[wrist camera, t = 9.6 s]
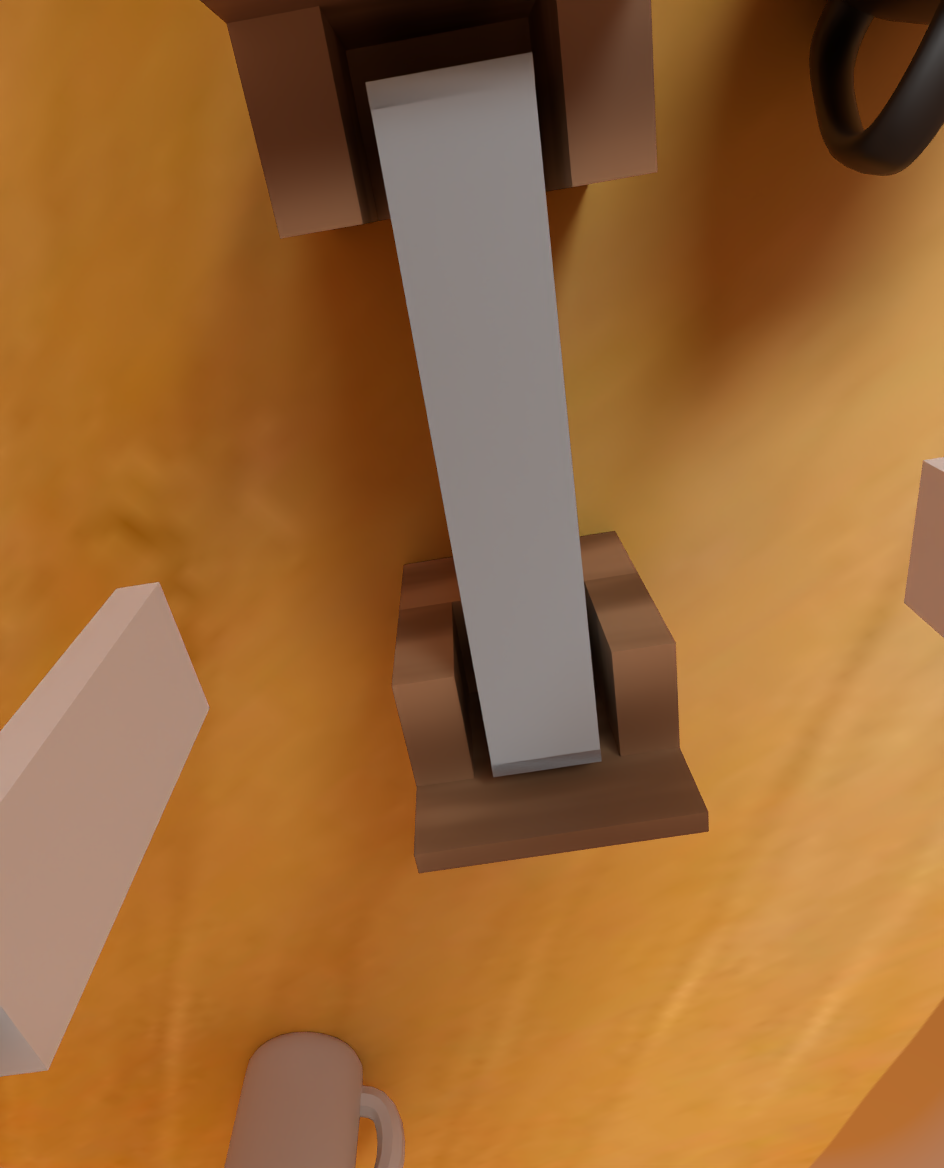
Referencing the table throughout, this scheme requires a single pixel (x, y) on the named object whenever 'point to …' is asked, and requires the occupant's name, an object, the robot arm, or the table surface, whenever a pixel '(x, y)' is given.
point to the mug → (915, 110)
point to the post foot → (554, 796)
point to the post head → (423, 43)
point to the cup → (310, 1108)
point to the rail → (494, 392)
